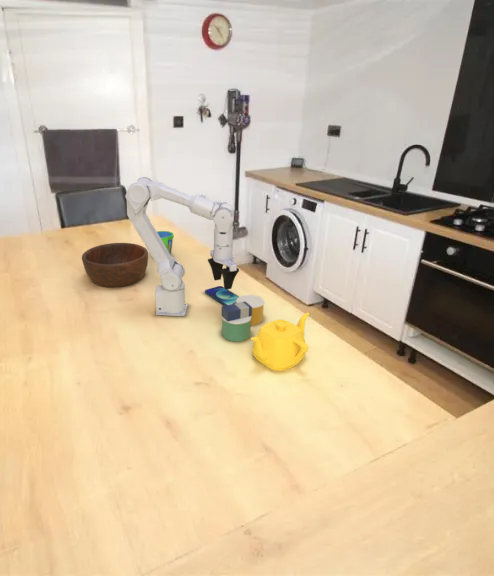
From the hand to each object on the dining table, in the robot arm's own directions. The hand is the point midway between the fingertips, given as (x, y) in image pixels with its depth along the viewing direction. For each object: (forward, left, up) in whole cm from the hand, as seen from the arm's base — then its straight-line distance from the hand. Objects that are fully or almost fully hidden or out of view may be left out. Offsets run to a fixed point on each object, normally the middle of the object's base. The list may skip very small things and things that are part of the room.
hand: (222, 284), depth 131 cm
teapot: (+18, -25, -11) cm, 33 cm away
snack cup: (-30, +50, -11) cm, 59 cm away
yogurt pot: (+5, -13, -10) cm, 17 cm away
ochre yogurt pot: (+9, -3, -10) cm, 14 cm away
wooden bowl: (-43, +25, -11) cm, 51 cm away
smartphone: (0, +11, -10) cm, 15 cm away
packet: (+5, -13, -4) cm, 14 cm away
